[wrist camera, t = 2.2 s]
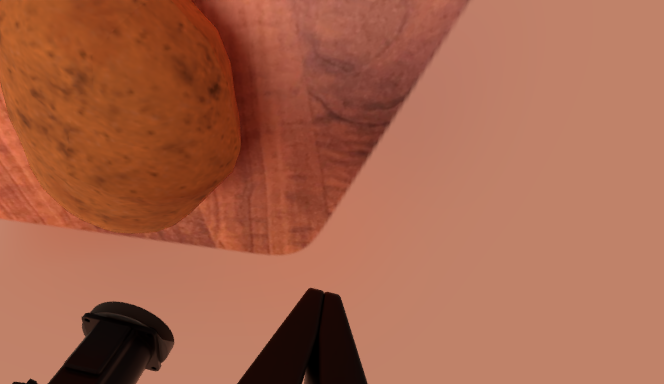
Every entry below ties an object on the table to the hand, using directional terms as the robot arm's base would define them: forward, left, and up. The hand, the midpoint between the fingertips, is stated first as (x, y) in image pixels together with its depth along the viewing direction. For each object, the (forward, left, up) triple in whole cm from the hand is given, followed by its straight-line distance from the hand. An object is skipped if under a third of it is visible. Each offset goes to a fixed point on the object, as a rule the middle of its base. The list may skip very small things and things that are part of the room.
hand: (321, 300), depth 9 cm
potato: (0, +9, -11) cm, 14 cm away
